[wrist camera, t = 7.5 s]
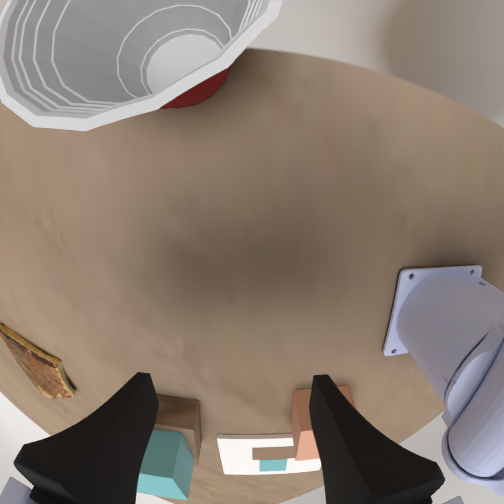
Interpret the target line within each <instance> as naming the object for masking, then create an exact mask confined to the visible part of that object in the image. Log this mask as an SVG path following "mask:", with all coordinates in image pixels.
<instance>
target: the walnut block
mask: <svg viewBox="0 0 504 504" xmlns="http://www.w3.org/2000/svg"><path fill="white" fill-rule="evenodd" d="M156 395H157V398H158V401H159V408H158V413H157V418H156V422H155V425H154V428H153V430H162V431H172V432H182V433H183V435H184V437H185V440H186V442H187V444H188V447H189V449H190V451H191V453H192V455H193V458H194V466H198V461H199V454H200V448H201V442H202V435H201V421H200V404H199V400H193V399H186V398H179V397H173V396H166V395H161V394H156Z"/></svg>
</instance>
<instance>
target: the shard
mask: <svg viewBox="0 0 504 504" xmlns="http://www.w3.org/2000/svg"><path fill="white" fill-rule="evenodd" d="M0 336H1V337H2V339H3V340H4V342H5V343H6V345H7V346H8V348H9V349H10V351H11V353H12V355H13V357H14V358H15V360H16V361H17V363H18V364H19V365H20V366H21V368H22V370H23V371H24V372H25V374H26V375H27V376H28V377H29V379H30V380H31V381H32V383H33V384H34V385H35V386H36V387H37V388H38V390H39V391H40V392H41V393H42V394H43V395H45V396H47V397H49V398H52V399H54V398H55V399H57V398H71V397H73V396H74V395H75V391H74V389H73V388H72V387H71V385H70V384H69V383H68V380H67V378H66V375H65V373H64V369H63V366H62V362H61V360H59V359H58V358H54V357H52V356H50V355H47V354H45V353H43V352H42V351H41V350H39V349H38V348H36V347H35V346H33V345H32V344H31V343H30V342H28V341H27V340H25V339H24V338H22V337H21V336H20V335H18V334H17V333H15V332H14V331H13V330H11V329H9V328H7V327H6V326H4V325H0Z"/></svg>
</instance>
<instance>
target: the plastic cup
mask: <svg viewBox="0 0 504 504" xmlns="http://www.w3.org/2000/svg"><path fill="white" fill-rule="evenodd" d="M282 2H283V0H8V2H7V4H6V6H5V8H4V10H3V12H2V14H1V16H0V99H1V102H2V103H3V104H4V105H5V106H7V107H8V108H9V109H11V110H12V111H13V112H14V113H16V114H17V115H18V116H19V117H21V118H22V119H23V120H25V121H26V122H27V123H29V124H30V125H31V126H32V127H42V128H56V129H68V130H78V131H88V130H91V129H93V128H96V127H99V126H102V125H105V124H109V123H112V122H115V121H118V120H122V119H125V118H128V117H132V116H136V115H139V114H143V113H147V112H151V111H155V110H157V109H159V108H162V109H166V108H170V107H171V108H182V107H187V106H192V105H197V104H198V103H200V102H202V101H203V100H205V99H207V98H208V97H210V96H212V95H213V94H214V93H215V92H216V91H217V90H218V88H219V87H220V86H221V85H222V84H223V83H224V81H225V80H226V77H227V73H228V71H229V70H230V67H231V64H232V63H233V62H234V60H235V59H236V58H237V57H238V56H239V55H240V54H241V53H242V52H243V51H244V50H245V49H246V48H247V47H248V46H249V44H250V43H251V42H252V41H253V40H254V39H255V38H256V37H257V36H258V35H259V34H260V33H261V32H262V31H263V30H264V29H265V28H267V27H268V26H269V24H271V23H272V22H273V21H274V20H275V19H276V18H277V17H278V14H279V11H280V8H281V5H282Z"/></svg>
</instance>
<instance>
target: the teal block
mask: <svg viewBox="0 0 504 504" xmlns="http://www.w3.org/2000/svg"><path fill="white" fill-rule="evenodd" d="M193 465H194V458H193V455H192V453H191V451H190V449H189V447H188V444H187V442H186V440H185V437H184V435H183V433H182V432H172V431H162V430H153V431H152V434H151V437H150V440H149V443H148V446H147V449H146V451H145V454H144V457H143V461H142V464H141V469H140V474H139V480H138V486H137V492H140V493H145V494H150V495H155V496H161V497H167V498H174V499H182V500H188V496H189V489H190V483H191V477H192V471H193Z"/></svg>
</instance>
